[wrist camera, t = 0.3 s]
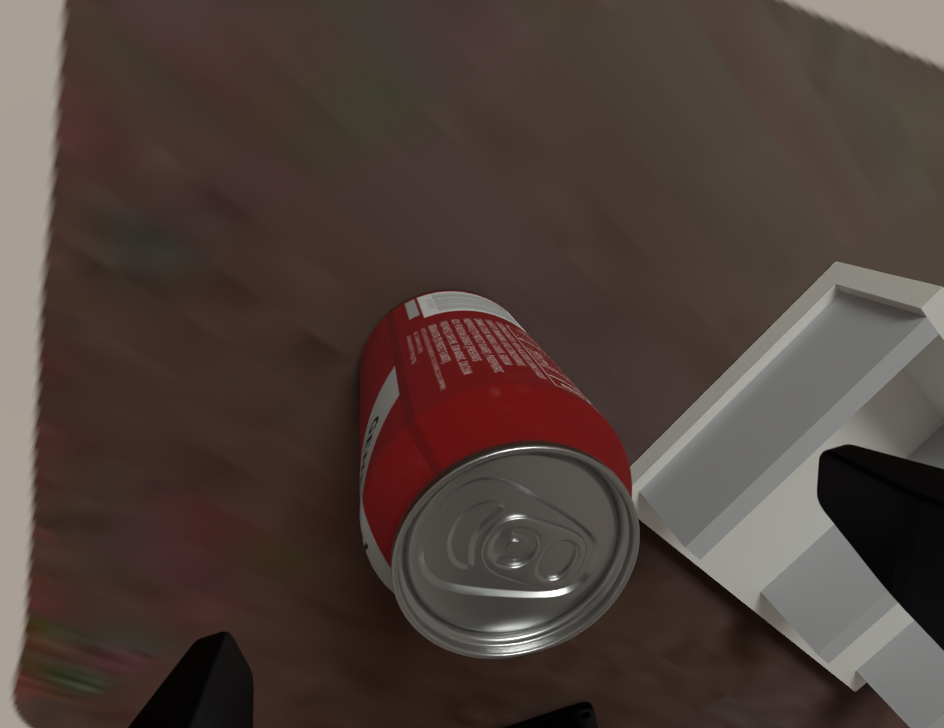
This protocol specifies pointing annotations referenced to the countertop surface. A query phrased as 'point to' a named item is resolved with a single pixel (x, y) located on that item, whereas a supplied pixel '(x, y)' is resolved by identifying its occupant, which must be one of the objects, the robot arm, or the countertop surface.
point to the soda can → (487, 481)
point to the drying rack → (811, 475)
